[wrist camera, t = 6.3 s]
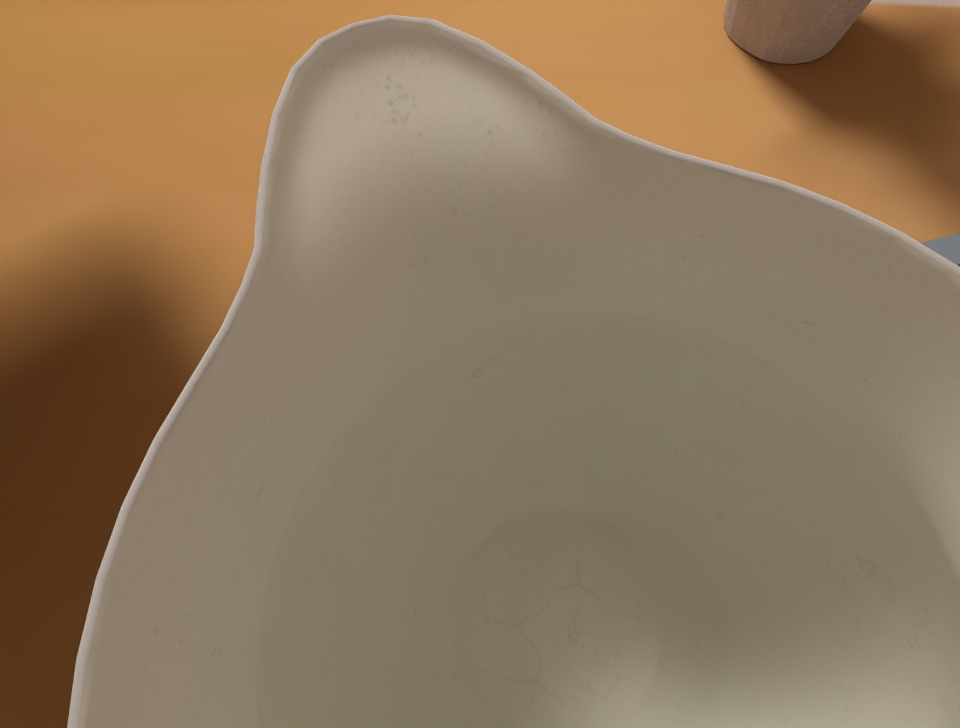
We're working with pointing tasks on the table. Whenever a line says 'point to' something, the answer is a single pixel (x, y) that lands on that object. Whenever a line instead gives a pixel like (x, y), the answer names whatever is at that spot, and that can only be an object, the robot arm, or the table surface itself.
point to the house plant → (790, 27)
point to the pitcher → (539, 435)
